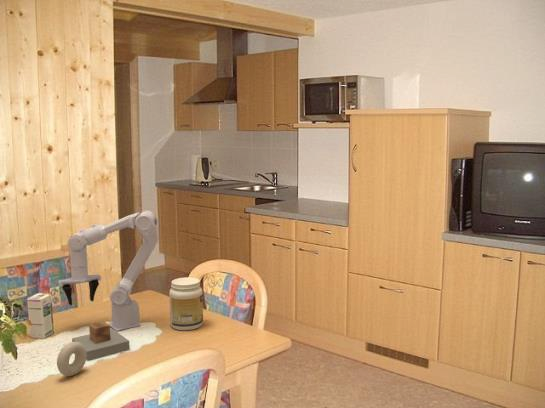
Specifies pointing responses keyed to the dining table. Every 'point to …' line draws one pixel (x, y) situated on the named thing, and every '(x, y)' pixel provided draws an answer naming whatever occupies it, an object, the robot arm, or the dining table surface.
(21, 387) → the dining table surface
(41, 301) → the syrup box
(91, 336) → the walnut block
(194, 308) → the supplement tub
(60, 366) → the donut
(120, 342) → the slate plinth
